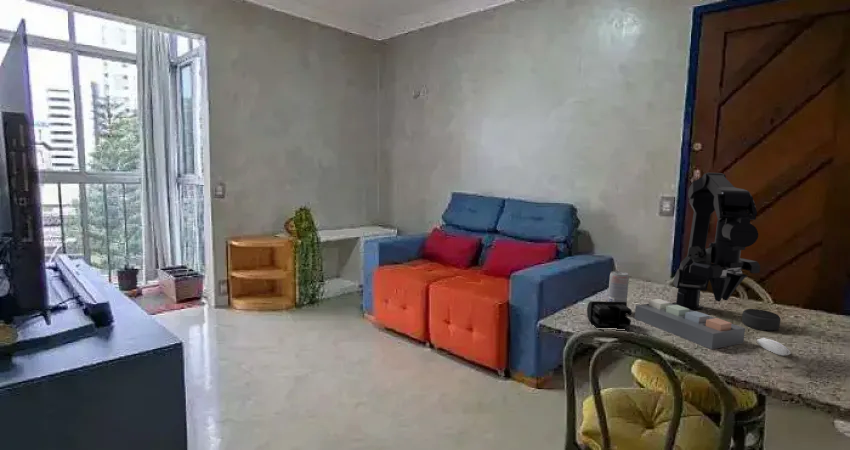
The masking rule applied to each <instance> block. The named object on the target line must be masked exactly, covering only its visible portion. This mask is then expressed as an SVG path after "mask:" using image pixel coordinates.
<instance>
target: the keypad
mask: <svg viewBox="0 0 850 450" xmlns="http://www.w3.org/2000/svg"><path fill="white" fill-rule="evenodd" d="M670 303H671V302H670ZM672 303H673V302H672ZM672 303H671V304H670V306H671V305H675V304H672ZM634 310H635V311H634V319H635V320H637V321H640V322H642V323H645V324H647V325H650V326H652V327H655V328H657V329H660V330H662V331H665V332H667V333H669V334H673V335H675V336H677V337H679V338H682V339H684V340H686V341H687V340H688V341H690V342H693V343H695V344H697V345H700V346H703V347H705V348H707V349H710V350H715V349H720V348H724V347H725V348H726V347H730V346H734V345H735V346H736V345H741V344H744V340H745V331H746V328H745V327H743V326H740V325H737V324H734V323H732V325H731V330H726V331H718V330H716V329H713V328H710V327H707V326H706V323H700V324H699V323H696V322H693V321H690V320H688V319H685V316H676V315H674V314H671V313H668V312H666V309H662V310H660V309H657V308H654V307H651V306H649V303H643V304H635V309H634ZM693 311H694V310H690V309H689V312H693ZM714 318H715V317H713V316H710V315H709V319H714Z"/></svg>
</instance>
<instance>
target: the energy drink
mask: <svg viewBox="0 0 850 450" xmlns="http://www.w3.org/2000/svg"><path fill="white" fill-rule="evenodd" d="M629 278H630V276H629V273H628V272H625V271H620V270H613V271H610V274H609V282H608V295H607V302H627V303H628V292H629Z"/></svg>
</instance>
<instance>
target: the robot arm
mask: <svg viewBox="0 0 850 450" xmlns="http://www.w3.org/2000/svg"><path fill="white" fill-rule="evenodd" d="M687 192H688V193H687V195H688V196H687V198H688V199H689V200H688V203H689V205H690V206H691V209H692V210H693V214H692V220H691V227H690V233H689V234H690V235H689V241H688V249H687V255H686V257H685V258H683V260H682V261H680V265H679V268H677V270H676V271H675V275H674V277H673V285H674V287H675V288H676V289H677V293H676V302H672V304H675V305H679V306H682V307H685V308H688V309H690V310H693V311H695V310H701V309H704V306H703V305H700V301H701V300H700V298H701V291H707V290H708V285H709V282H710V285H711V289H712V293H713V297H714V300H715V301H716V302H721V301H728V300H729V298H730V297H732V295H733V294H734V293H735V291H736V289H737V288H738V287H739V286H740V284H741V283H742V282H743V281H744V280H745V278H747V277H748V274H745V273H743V271H742V270H745V271H749V272H750V274H759V273H760V272H761V271H760V270H761V265H760V264H759V262H758V261H756V260H751V259H746V258H741V253H742V251H745V250H746V248H747V247H751V246H753V245H754V244H755V243H756V242H757V241H758V238H759V231H758V229H757V228H756V226H755V225H754V224H752V223H751V221H756V220H757V215H758V211H757V207H756V203H755V201H754V197H753V196H752V194H751V192H750V191H749V190H746V189H745V188H739V187H735V186H734V185H733V184H732V183H731V182H730V180H728V179H727V176H726V174H725V173H722V172H705V173H704V174H703V175H702V176H701V177H700V178H698V179H696V180H695V179H694V181H692V183H691V185H690V186H689V188H688V191H687ZM714 212H715V215H716V218H717V222H716V229H715V236H714V238H715V239H714V242H710V243H709V246H708V248H706V246H707V240H708V235H709V228H710V222H711V215H712V214H714Z"/></svg>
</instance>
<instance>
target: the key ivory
mask: <svg viewBox="0 0 850 450" xmlns="http://www.w3.org/2000/svg"><path fill="white" fill-rule="evenodd" d="M648 304H649V306H651V307H654V308H657V309H660V310H662V309H666V307H667V306H670V304H671V302H670V301H666V300H664V299H661V298H654V299H649V300H648Z"/></svg>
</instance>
